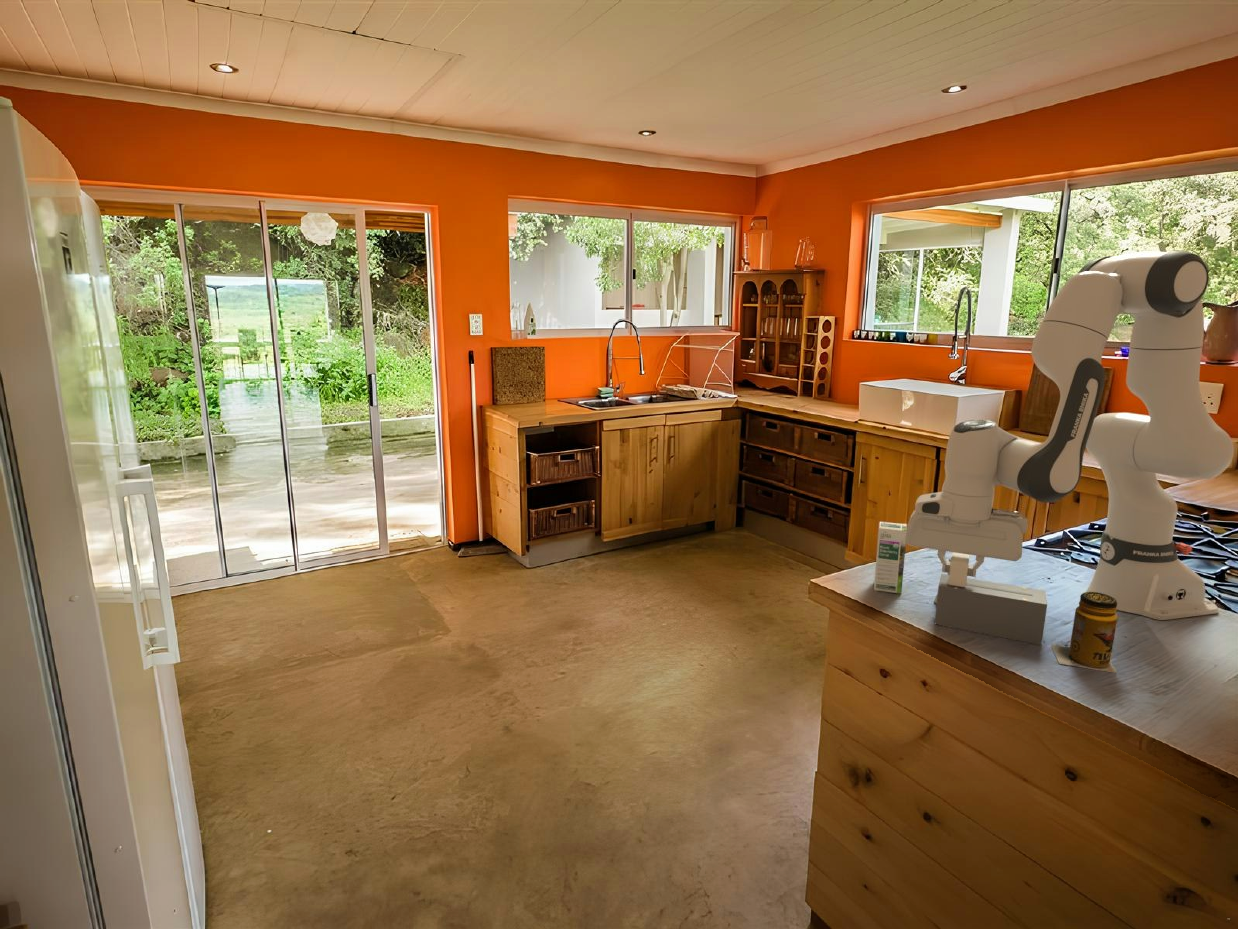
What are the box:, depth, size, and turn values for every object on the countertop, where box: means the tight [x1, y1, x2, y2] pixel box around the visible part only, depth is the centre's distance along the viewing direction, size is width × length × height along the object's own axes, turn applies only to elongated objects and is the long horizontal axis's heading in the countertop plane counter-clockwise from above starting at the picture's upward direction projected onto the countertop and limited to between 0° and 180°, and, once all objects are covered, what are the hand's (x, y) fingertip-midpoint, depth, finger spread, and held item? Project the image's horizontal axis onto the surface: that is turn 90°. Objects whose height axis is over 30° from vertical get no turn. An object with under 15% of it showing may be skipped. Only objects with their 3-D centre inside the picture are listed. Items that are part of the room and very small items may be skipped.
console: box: [934, 573, 1048, 646], centre depth 133 cm, size 18×7×8 cm, turn 61°
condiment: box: [1051, 591, 1118, 673], centre depth 120 cm, size 7×8×12 cm
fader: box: [948, 552, 971, 587], centre depth 134 cm, size 3×5×5 cm, turn 151°
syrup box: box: [873, 521, 908, 595], centre depth 151 cm, size 6×6×14 cm
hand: (958, 573), depth 134 cm, fingers closed on fader, 3 cm apart
